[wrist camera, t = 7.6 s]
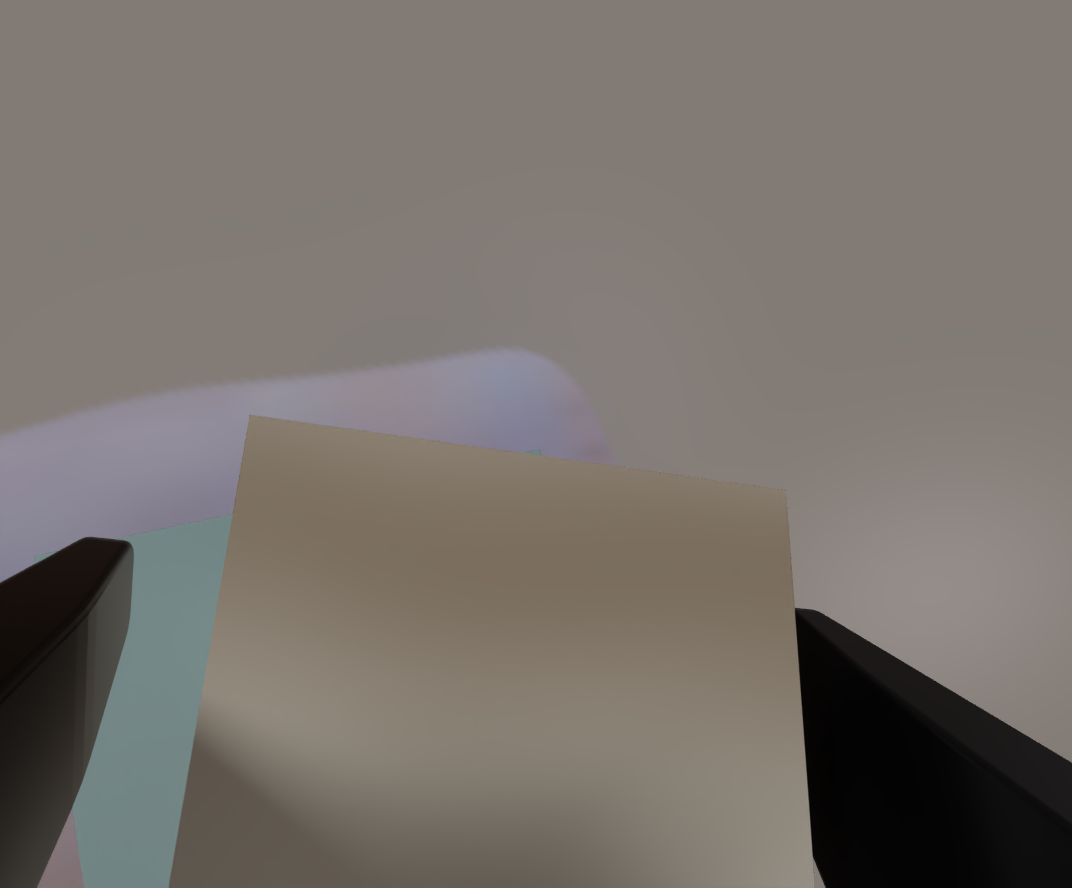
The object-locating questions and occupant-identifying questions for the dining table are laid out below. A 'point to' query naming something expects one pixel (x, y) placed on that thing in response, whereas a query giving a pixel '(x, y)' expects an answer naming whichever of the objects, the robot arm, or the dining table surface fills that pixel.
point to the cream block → (495, 676)
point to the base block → (152, 709)
